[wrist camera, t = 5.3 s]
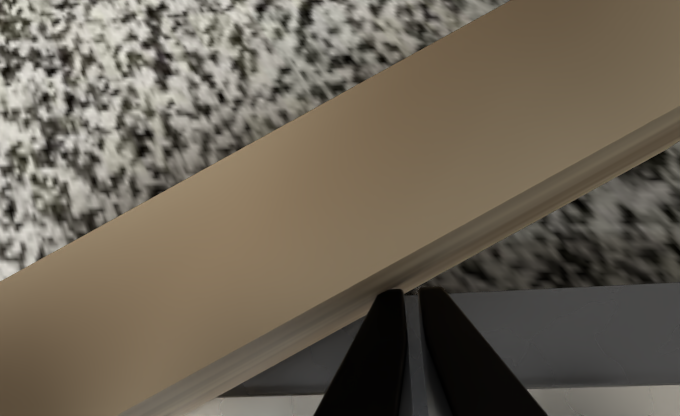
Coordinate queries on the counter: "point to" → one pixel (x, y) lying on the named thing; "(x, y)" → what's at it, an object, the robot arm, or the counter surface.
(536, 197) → the swing bar
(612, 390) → the panel
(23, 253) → the counter surface
